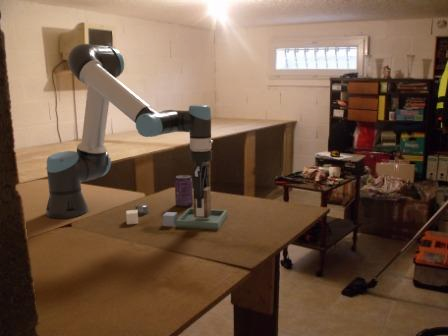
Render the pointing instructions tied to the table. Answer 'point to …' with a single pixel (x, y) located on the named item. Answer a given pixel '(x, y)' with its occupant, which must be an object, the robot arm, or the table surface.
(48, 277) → the table surface
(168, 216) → the slate-blue block
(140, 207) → the grey metal puck
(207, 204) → the walnut block
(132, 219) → the cream cube
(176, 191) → the beverage can
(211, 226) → the tray
